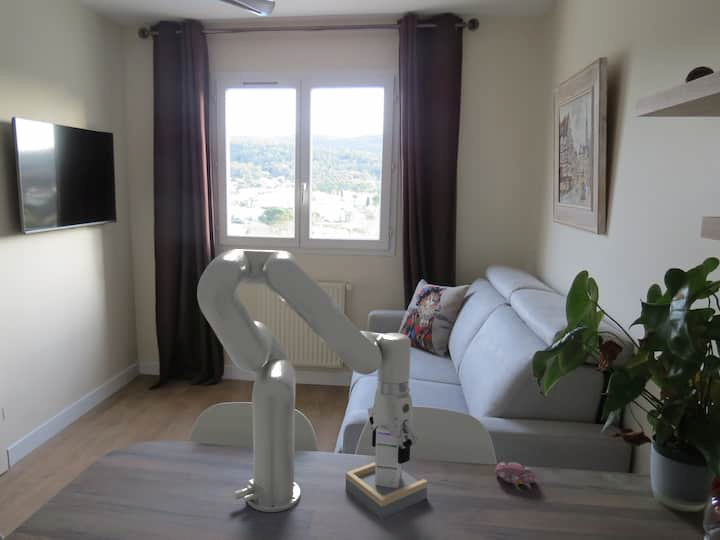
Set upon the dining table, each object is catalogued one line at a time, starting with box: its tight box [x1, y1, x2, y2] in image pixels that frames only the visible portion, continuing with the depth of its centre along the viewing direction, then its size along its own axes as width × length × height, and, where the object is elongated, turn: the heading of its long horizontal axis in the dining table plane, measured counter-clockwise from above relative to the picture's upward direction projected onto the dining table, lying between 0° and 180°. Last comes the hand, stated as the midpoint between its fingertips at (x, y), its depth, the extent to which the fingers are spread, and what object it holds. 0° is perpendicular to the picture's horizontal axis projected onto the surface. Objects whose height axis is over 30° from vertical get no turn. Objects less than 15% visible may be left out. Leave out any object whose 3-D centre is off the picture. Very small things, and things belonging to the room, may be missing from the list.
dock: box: [345, 461, 428, 519], centre depth 126 cm, size 14×14×4 cm
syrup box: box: [374, 425, 403, 488], centre depth 125 cm, size 6×6×14 cm
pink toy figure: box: [494, 461, 536, 486], centre depth 133 cm, size 10×5×7 cm, turn 71°
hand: (390, 453), depth 125 cm, fingers open, 9 cm apart
